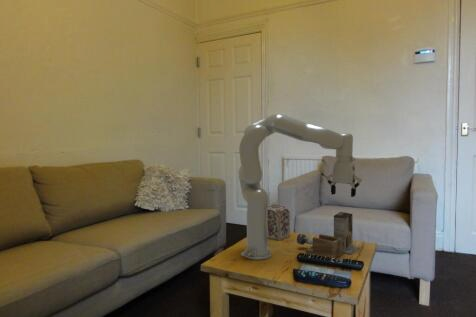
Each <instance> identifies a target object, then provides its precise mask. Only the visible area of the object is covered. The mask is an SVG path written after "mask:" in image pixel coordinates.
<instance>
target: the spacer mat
mask: <svg viewBox="0 0 476 317" xmlns="http://www.w3.org/2000/svg"><path fill="white" fill-rule="evenodd" d="M359 249H361V246H359V245H354V244H352V246H351V247H350V248H349V249H348V250H347V251H344V250H343V254H346V255H352V254H354V253H355V252H356V251H358V250H359Z"/></svg>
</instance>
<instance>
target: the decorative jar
mask: <svg viewBox="0 0 476 317" xmlns="http://www.w3.org/2000/svg"><path fill="white" fill-rule="evenodd" d="M290 215H291V212H290V211H289V209H288V208H287V207H286V206H283V205H281V203H278V202H277V203H276V202H275V203H274V202H273V203H271V205H268V239H270V240H275V241H282V240H283V239H285V238H288V237H290V236H291V216H290Z"/></svg>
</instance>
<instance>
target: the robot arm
mask: <svg viewBox="0 0 476 317" xmlns="http://www.w3.org/2000/svg"><path fill="white" fill-rule="evenodd" d="M243 133H244V134H243V136H242V137H241V140H240V143H239V148H238V151H239V160H240V167H239V169H238V179H239V184H240V188H241V194H242V198H243V200H244V201H245V203H247V204H246V205H247V207H246V209H247V210H246V247H245V250H243V251H241V252H240V255H241V257H245V258H247V259H249V260H256V261H257V260H259V261H260V260H266V259H269V258H271V256H272V252H271V251H270V249H269V242H268V241H269V238H268V206H269V205H270V204H269V202H270V201H269V199H270V198H269V195H268V192H267V191H266V189H264V188H262V187H261V182H262V180H263V170H262V166H261V160H260V155H259V148H260V145H261V144H262V142H264V141H265V140H266V138H267V137H269V136H271V135H273V134H275V133H277V134H280V135H283V136H287V137H289V138H293V139H295V140H297V141H302V142H309V143H314V144H317V145H319V146H320V147H321V148H323V149H325V150H335V162H333V166H332V173H331V174H329V175H327V176H326V177H325V178H326V180H327V183H328V185H329V186H330V193H331V195H336V192H337V191H336V189H337V187H336V184H346V185H350V187H351V188H350V197H352V198H354V197H355V196H356V194H357V188H358V187H359V186H360V184H361V183H362V181H363V180H362V178H360V177H358V176H357V175H356V167H355V162H353V161H356V158H355V157H354V156H353V152H354V151H353V150H354V149H353V144H354V142H353V141H354V135H353V134H352V133H339V132H336V131H333V130H332V129H327V128H325V127H321V126H317V125H314V124H312V123H309V122H308V123H307V122H305V121H301V120H299V119H297V118H294V117H291V116H288V115H285V114H282V113H276V114H271V115H269V116H266V117H265V118H262V119H260V120H258V121H256V122H253V123H252V124H249V125H247V126H246V128H245V129H244V132H243ZM356 181H357V182H356Z"/></svg>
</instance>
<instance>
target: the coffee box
mask: <svg viewBox="0 0 476 317" xmlns="http://www.w3.org/2000/svg"><path fill="white" fill-rule="evenodd" d="M353 220H354V219H353V213H349V212H345V211H344V212H343V211H340V212H338V213H337V214H334V215H333V237H338V238H343V250H344V251H347V250H348V249H349V248H350V247H351V246H352V245H353V224H354V223H353Z"/></svg>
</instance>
